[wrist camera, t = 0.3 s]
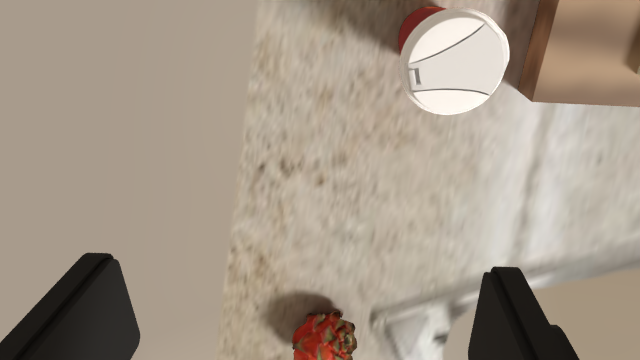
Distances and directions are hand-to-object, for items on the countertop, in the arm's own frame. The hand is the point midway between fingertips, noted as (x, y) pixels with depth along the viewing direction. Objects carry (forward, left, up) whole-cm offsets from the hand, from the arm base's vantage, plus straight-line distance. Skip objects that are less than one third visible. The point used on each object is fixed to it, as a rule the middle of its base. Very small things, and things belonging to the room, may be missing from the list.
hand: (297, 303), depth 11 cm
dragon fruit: (+40, -1, -37) cm, 54 cm away
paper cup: (-1, +8, -37) cm, 37 cm away
